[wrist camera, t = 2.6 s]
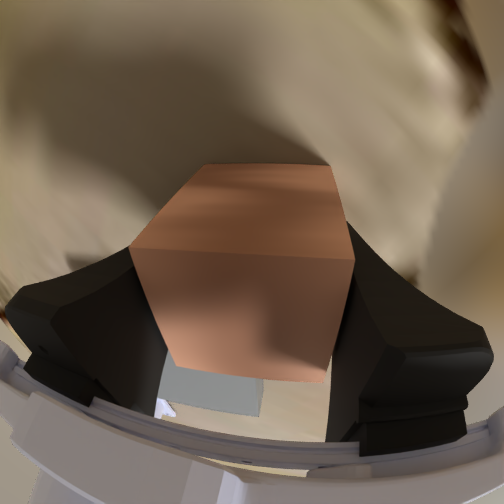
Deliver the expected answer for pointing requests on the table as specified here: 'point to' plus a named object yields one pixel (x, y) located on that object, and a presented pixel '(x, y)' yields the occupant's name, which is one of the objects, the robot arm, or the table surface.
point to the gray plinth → (210, 390)
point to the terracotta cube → (249, 270)
